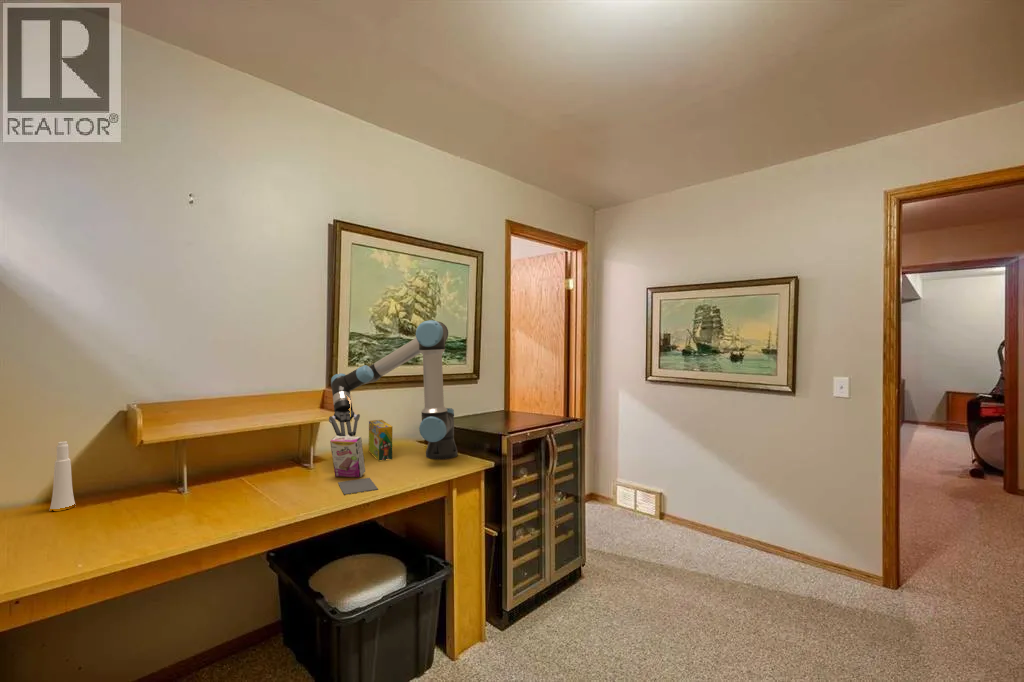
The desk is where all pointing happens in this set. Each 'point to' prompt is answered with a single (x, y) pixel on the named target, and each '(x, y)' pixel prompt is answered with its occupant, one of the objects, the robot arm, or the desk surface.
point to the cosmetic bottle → (62, 479)
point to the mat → (357, 486)
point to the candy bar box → (347, 456)
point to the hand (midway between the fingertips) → (348, 449)
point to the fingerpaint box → (380, 439)
